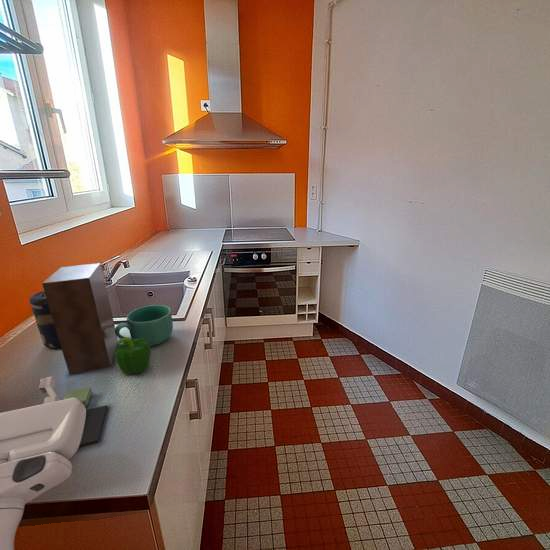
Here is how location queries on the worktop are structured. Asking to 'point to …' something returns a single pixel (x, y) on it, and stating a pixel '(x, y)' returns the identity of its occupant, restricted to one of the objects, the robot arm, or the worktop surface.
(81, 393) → the hammer
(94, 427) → the mat
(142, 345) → the bell pepper
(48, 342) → the canister
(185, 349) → the worktop surface
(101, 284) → the stand
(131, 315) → the mug
